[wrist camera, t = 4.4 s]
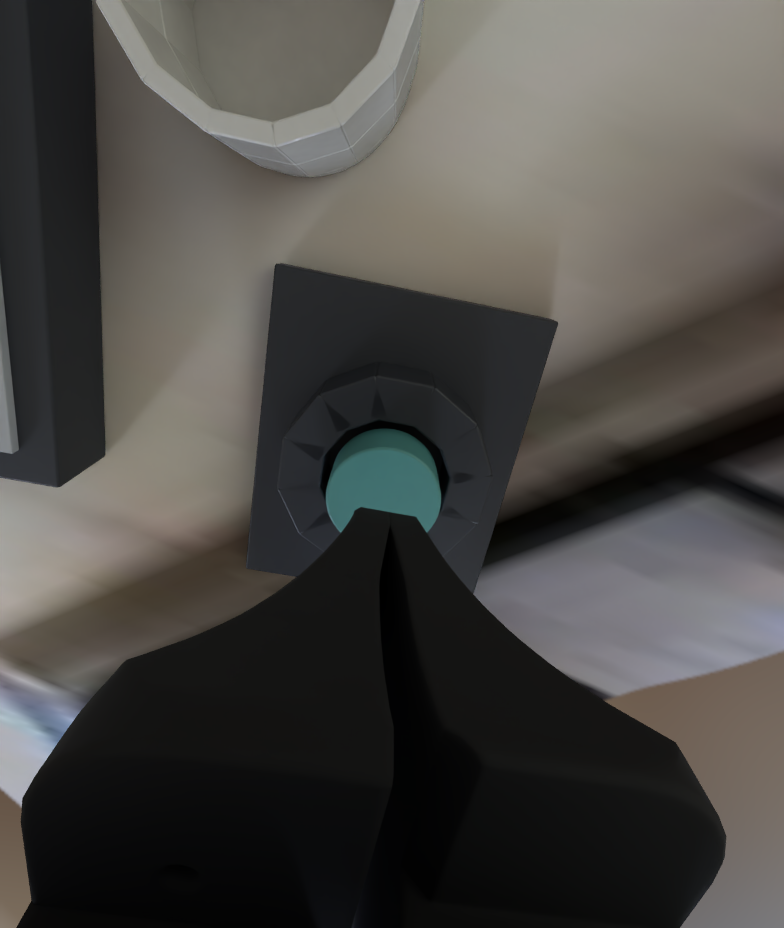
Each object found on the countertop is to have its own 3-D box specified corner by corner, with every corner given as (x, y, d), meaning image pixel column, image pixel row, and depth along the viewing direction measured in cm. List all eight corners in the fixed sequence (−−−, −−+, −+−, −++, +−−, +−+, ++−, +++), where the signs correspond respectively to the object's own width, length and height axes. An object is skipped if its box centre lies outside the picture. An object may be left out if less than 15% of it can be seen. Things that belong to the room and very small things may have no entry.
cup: (394, 198, 14) (393, 173, 9) (180, 151, 13) (80, 104, 9) (442, -75, 11) (468, -264, 7) (188, -140, 11) (61, -379, 7)
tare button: (424, 530, 15) (427, 560, 14) (325, 513, 15) (318, 540, 13) (447, 438, 14) (453, 459, 12) (341, 418, 14) (334, 437, 12)
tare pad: (467, 594, 18) (477, 642, 16) (250, 557, 18) (229, 602, 16) (552, 319, 15) (581, 331, 12) (280, 262, 14) (257, 264, 12)
